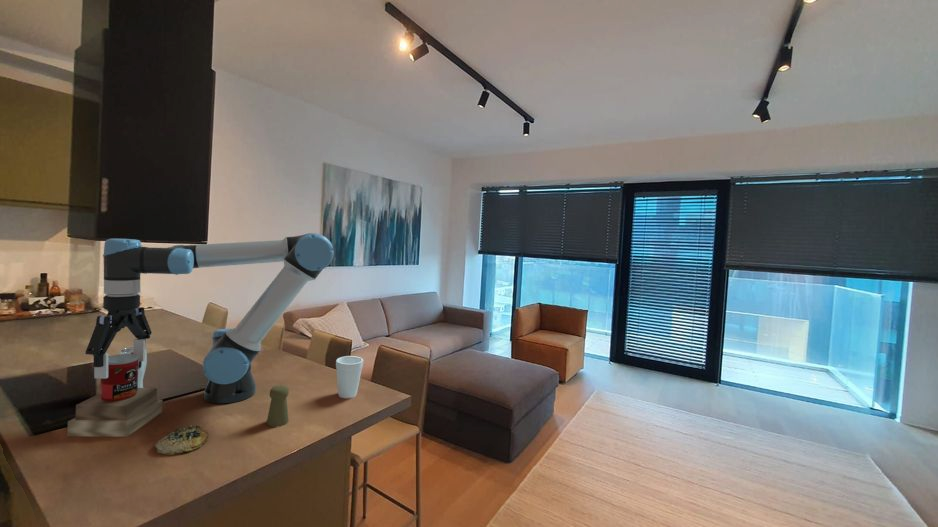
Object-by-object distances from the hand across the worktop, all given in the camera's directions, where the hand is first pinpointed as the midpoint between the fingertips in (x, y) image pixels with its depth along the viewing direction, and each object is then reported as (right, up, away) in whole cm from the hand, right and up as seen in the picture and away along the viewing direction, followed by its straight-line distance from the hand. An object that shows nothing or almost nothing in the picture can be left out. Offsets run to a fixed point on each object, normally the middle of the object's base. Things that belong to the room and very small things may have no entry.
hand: (121, 369), depth 105 cm
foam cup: (+53, -19, +32) cm, 65 cm away
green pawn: (+40, -19, +9) cm, 45 cm away
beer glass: (-14, -14, +19) cm, 28 cm away
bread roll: (+22, -19, -6) cm, 30 cm away
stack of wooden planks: (-2, -16, +1) cm, 16 cm away
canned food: (-1, -8, 0) cm, 8 cm away
